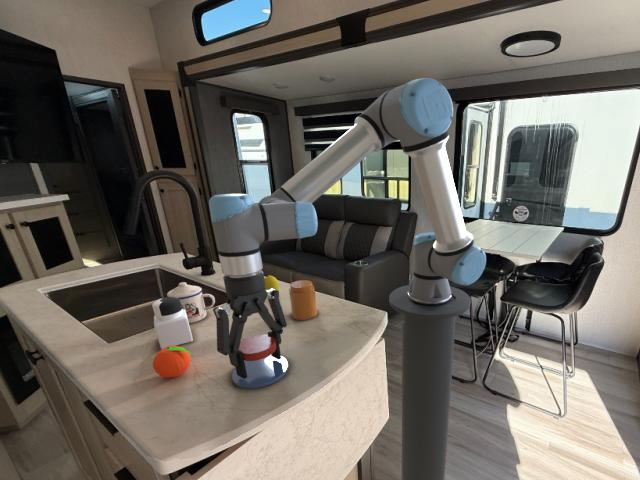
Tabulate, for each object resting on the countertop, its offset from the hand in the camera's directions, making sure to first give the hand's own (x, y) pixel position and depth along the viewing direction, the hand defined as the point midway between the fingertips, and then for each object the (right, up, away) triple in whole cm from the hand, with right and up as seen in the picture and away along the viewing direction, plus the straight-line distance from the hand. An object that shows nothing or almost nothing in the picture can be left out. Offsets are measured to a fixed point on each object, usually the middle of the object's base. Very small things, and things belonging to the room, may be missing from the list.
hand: (260, 366), depth 73 cm
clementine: (-18, -2, 0) cm, 19 cm away
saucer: (0, -1, +1) cm, 2 cm away
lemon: (-14, +14, +43) cm, 48 cm away
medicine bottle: (-29, +3, +14) cm, 32 cm away
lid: (0, +5, -2) cm, 6 cm away
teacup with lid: (-32, +8, +27) cm, 42 cm away
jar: (+2, +9, +29) cm, 30 cm away
